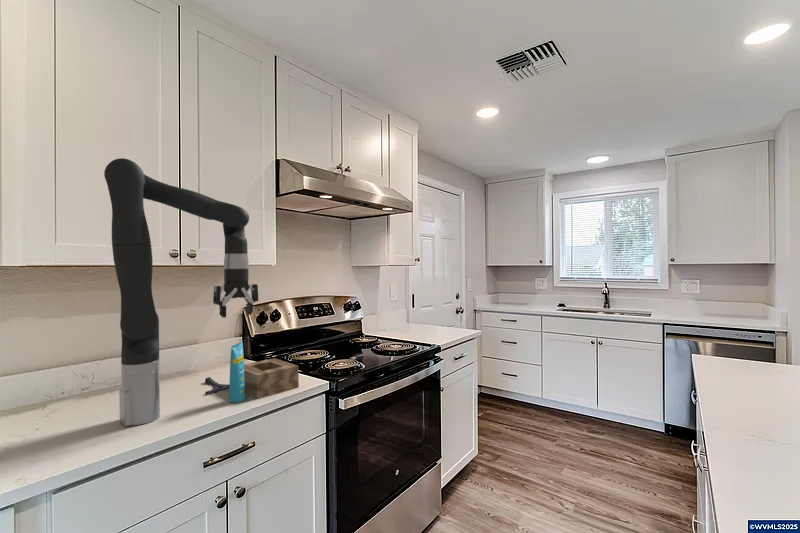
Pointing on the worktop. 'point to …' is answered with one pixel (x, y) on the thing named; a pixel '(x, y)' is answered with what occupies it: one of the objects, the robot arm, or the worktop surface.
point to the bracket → (216, 386)
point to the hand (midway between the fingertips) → (236, 315)
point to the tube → (237, 374)
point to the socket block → (270, 377)
